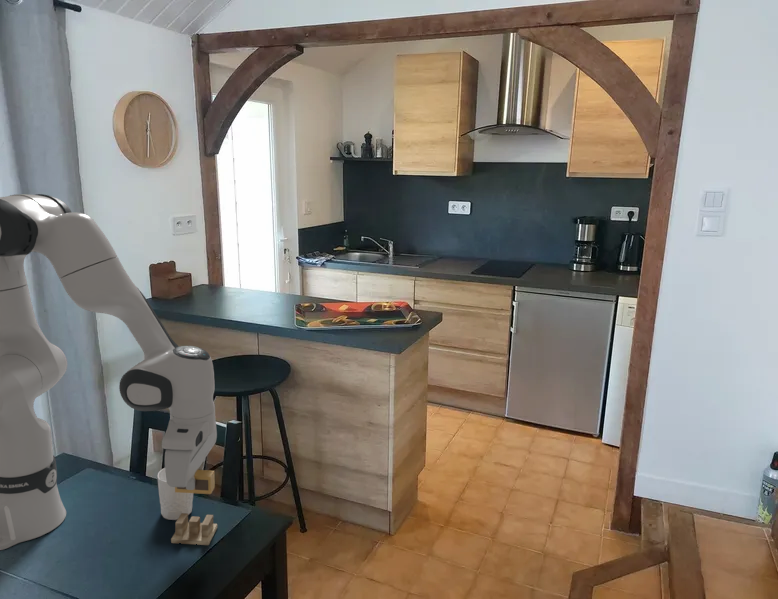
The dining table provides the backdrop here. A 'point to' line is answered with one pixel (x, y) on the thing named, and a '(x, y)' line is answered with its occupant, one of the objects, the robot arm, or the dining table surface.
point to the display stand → (194, 530)
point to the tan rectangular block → (201, 483)
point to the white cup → (172, 499)
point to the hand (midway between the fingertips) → (194, 482)
